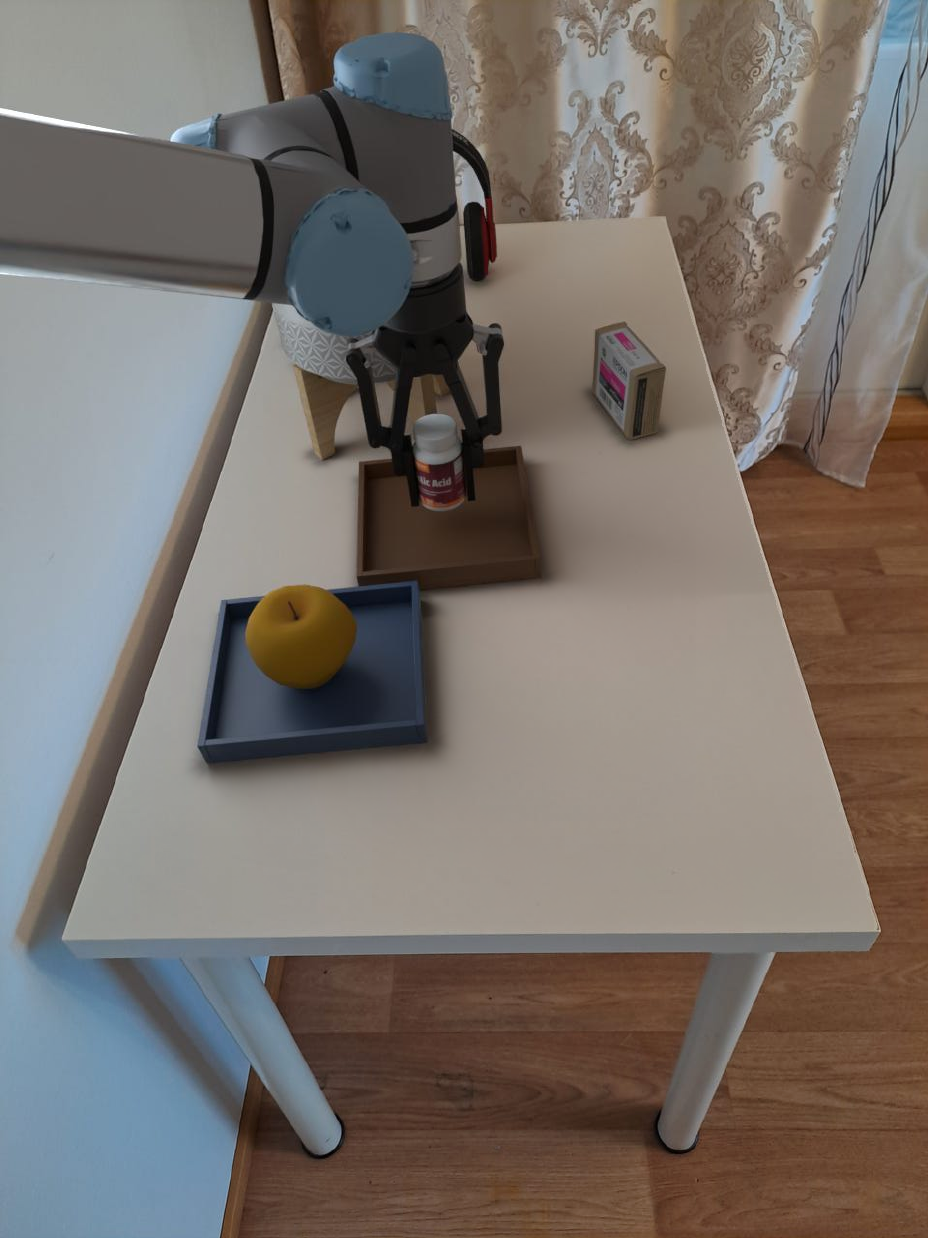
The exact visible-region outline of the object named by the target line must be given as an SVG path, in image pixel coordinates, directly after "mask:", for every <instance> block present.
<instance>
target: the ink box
mask: <svg viewBox="0 0 928 1238" xmlns="http://www.w3.org/2000/svg"><path fill="white" fill-rule="evenodd" d="M593 351H594V352H593V353H594V354H593V369H592V370H593V371H592V382H591V383H592V385H591V393H592V394H593V395H594V396H595V398H596V399H597V400H598V402H599V403H600V404H601V406H602V407H603V408H604V410H605V411H606V413H607V414H608V415H609V417H610V418H611V420H612V421H613V422H614V423H615V425H616V426H617V427H618V429H619V430H620V432H622V434H623V435H624V437H625V438H626V439H627V440H628V441H629V440H630V441H631V440H635V439H639V438H643V437H647V436H650V435H651V436H652V435H655V434H658V432H659V425H660V417H661V410H662V401H663V394H664V387H665V380H666V372H667V366H666V365H665V364H664V363H663V362H661V361H660V360H659V359H658V358H657V356H656V355H655V354H654V353H653V352H652V350H651V349H649V347H648V346H647V345H646V344H645V343H644V342H643V341H642V340H641V339H640V338H639V336H638V335H637V334H636V333H635V332H634V331H633V330H632V329H631V328H630V326H629V325H628V323H627V322H626V321H622V322H621V321H620V322H616V323H613V324H609V325H605V326H601V327H599V328H596V329H595V330H594V349H593Z"/></svg>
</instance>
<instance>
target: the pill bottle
mask: <svg viewBox="0 0 928 1238" xmlns="http://www.w3.org/2000/svg"><path fill="white" fill-rule="evenodd" d="M412 433H413V441H414V442H413V443H412V455H413V461H414V468H415V474H416V481H417V489H418V496H419V500H420V502H421V504H422V505H423V506H424V507H426V508H428V509H430V510H434V511H448V510H452V509H454V508H456V507H458V506H459V505H460V504H461V503H462V502H463V501H464V500H465V498H466V493H467V492H466V481H465V470H464V458H463V446H462V439H461V438H460V437H459V435H458V426H457V422H456V421H455V419H454V418H453V417H452V416H450V415H447V414H444V413H437V414H430V415H426V416H423V417H422V418H420V419H419V420H417V421H416V422H415V424H414V426H413V425H412Z"/></svg>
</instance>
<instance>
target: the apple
mask: <svg viewBox="0 0 928 1238" xmlns="http://www.w3.org/2000/svg"><path fill="white" fill-rule="evenodd" d="M327 590H328V589H324V588H323V587H321V586H316V585H309V584H295V585H284V586H282V587H279V588H276V589H274V590H271V591H270V592H268V593H267V594H266V595H264V596H265V597H263V598H262V599H261V601H260V602H259V603H258V605H257V606H256V607H255V609H254V611H253V612H252V614H251V616H250V617H249V620H248V624H247V628H246V632H245V637H246V645H247V647H248V649H249V651H250V653H251V656H252V658H253V660H254V662H255V664H256V666H257V667H258V668H259V669H260V670H261V671H262V672H263V674H264V675H265V676H267V677H268V678H270V679H272V680H273V681H275V682H276V683H278V684H280V685H284V686H288V687H292V688H296V689H315V688H317V687H320V686H322V685H324V684H326V683H327V682H328V681H329V680H330V679H331V678H332V677H333V676H334V675H335V674H336V673H337V672H338V671H339V669H340V668H341V667H342V665H343V664H344V662H345V661H346V659H347V657H348V656H349V654H350V652H351V650H352V648H353V646H354V644H355V639H356V633H357V625H356V622H355V619H354V617H353V615H352V613H351V611H350V610H349V609H348V608H347V606H346V605H345V604H344V603H342V602H341V601H340V600H339V599H338V598H337V597H335V596H334V595H333V594H332V593H331V592H330V591H327Z"/></svg>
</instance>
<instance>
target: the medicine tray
mask: <svg viewBox="0 0 928 1238" xmlns="http://www.w3.org/2000/svg"><path fill="white" fill-rule="evenodd" d="M483 449H484V462H485V463H484V466H483V468H473V476H474V487H475V499H476V501H468V497H467V493H466V498H465V500H464V501H463V502H462V503H461V504H460V505H459V506H458V507H456V508H454V509H452V510H448V511H434V510H430V509H428V508H426V507H424V506H423V505H422V504H421V502H420V500H419V506H417V507H411V501H410V494H409V488H408V481H407V476H396V474H395V473H394V468H393V462H392V458H383V459H374V460H364V461H363V460H361V461H359V462H358V481H357V483H358V484H357V485H358V486H357V487H358V488H357V533H356V534H357V535H356V575H355V576H356V580H357V581H356V582H357V585H358V586H357V587H360V586H370V585H380V584H390V583H400V582H410V581H411V582H412V581H418V585H419V591H420V590H429V589H430V590H431V589H441V588H450V587H460V586H461V587H462V586H470V585H471V586H473V585H481V584H490V583H500V582H501V583H503V582H511V581H521V580H533V579H540V578H542V556H541V551H540V544H539V539H538V532H537V527H536V522H535V516H534V510H533V504H532V498H531V494H530V493H531V492H530V488H529V483H528V477H527V471H526V466H525V465H526V464H525V460H524V459H525V458H524V454H523V453H524V452H523V448H522V445H513V446H503V447H502V446H501V447H492V448H483ZM463 458H464V457H463ZM464 470H465V467H464ZM465 481H466V477H465ZM466 492H467V487H466Z"/></svg>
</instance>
